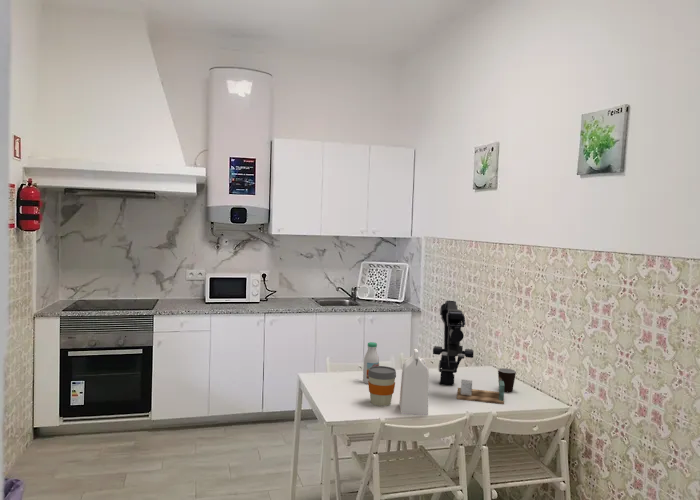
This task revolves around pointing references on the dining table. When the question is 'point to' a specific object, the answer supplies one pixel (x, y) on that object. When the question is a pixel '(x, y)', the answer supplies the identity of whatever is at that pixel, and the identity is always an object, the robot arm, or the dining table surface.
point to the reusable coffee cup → (381, 384)
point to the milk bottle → (370, 360)
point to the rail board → (480, 399)
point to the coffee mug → (507, 378)
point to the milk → (414, 386)
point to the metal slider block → (466, 387)
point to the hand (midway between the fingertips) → (452, 369)
